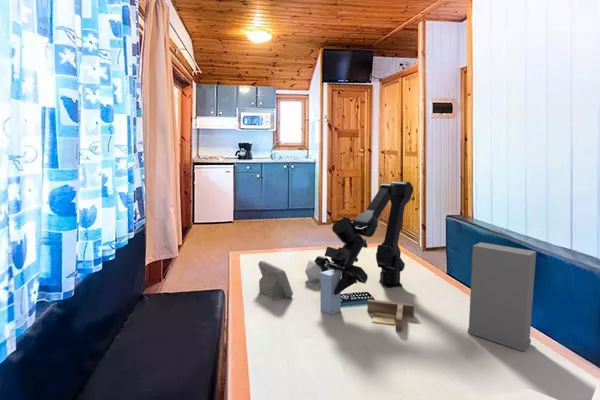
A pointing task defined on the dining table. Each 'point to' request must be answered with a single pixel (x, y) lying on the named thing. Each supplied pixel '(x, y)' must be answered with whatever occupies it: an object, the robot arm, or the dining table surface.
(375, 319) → the wooden t-shaped piece
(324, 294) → the large blue square block
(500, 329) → the grey upright tombstone
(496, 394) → the dining table surface
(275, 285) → the digital clock
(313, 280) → the die
